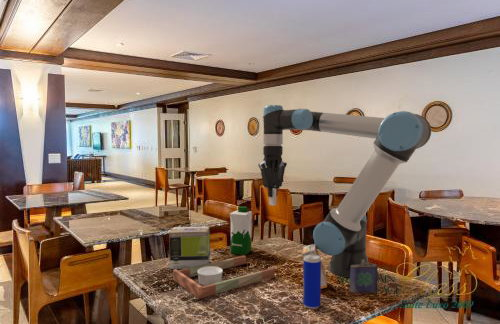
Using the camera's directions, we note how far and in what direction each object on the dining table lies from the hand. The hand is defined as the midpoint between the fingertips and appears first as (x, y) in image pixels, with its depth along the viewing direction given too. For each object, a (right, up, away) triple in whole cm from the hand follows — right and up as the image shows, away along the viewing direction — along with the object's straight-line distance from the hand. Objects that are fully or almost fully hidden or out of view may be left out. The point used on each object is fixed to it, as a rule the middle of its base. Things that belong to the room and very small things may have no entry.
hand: (272, 204), depth 143 cm
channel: (-18, -25, -12) cm, 33 cm away
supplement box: (+15, -25, -20) cm, 35 cm away
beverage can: (+10, -27, -34) cm, 44 cm away
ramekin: (-23, -26, -16) cm, 38 cm away
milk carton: (-13, -24, +19) cm, 33 cm away
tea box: (-33, -25, +2) cm, 41 cm away
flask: (+28, -26, -24) cm, 45 cm away
